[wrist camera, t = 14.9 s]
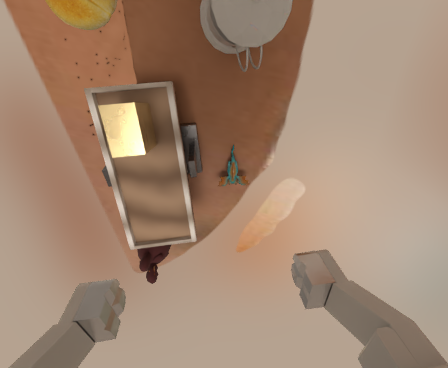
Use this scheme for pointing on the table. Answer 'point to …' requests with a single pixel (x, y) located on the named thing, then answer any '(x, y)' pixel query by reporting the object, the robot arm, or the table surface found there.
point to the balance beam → (149, 169)
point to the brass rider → (128, 128)
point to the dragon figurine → (233, 174)
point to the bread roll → (83, 12)
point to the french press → (243, 24)
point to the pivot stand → (189, 151)
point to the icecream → (152, 260)
